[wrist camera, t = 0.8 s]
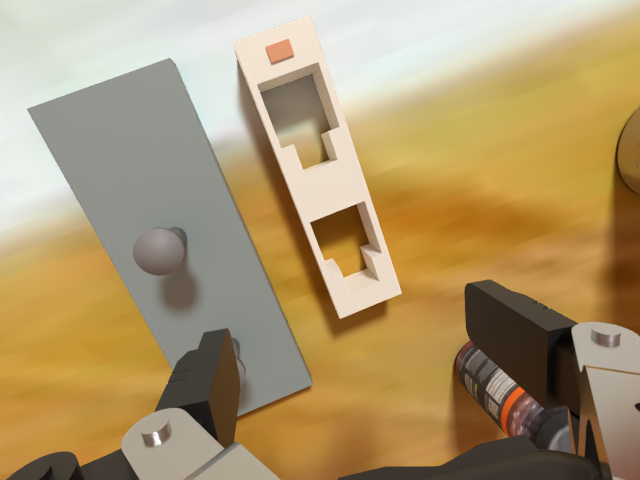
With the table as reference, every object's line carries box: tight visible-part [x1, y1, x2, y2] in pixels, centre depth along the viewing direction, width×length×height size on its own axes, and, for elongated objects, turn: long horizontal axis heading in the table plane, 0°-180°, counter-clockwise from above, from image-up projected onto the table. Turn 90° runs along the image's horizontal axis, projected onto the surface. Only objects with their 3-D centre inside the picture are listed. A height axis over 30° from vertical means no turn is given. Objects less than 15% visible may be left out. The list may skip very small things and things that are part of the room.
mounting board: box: [27, 58, 313, 417], centre depth 26 cm, size 10×28×6 cm, turn 20°
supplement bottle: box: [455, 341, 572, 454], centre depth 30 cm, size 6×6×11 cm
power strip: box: [233, 15, 402, 319], centre depth 27 cm, size 5×21×4 cm, turn 20°
